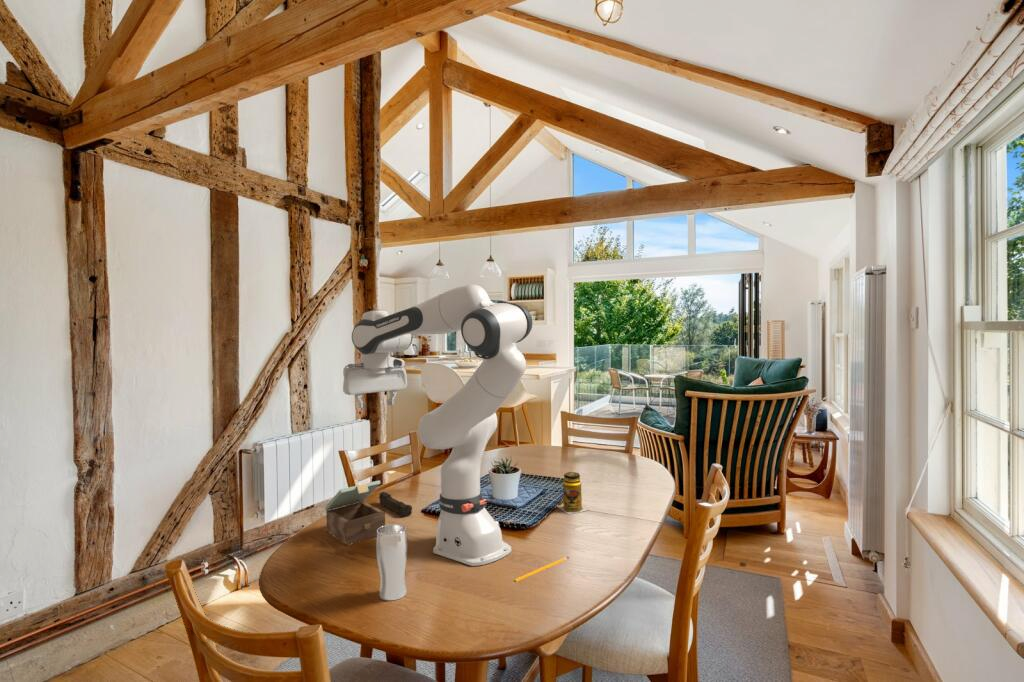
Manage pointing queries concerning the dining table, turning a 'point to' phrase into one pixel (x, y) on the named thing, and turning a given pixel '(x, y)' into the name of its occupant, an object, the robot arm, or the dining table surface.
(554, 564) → the pencil
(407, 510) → the dark brown rough bar
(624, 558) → the dining table surface
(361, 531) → the box
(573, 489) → the condiment
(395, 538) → the beer glass
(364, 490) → the lid
